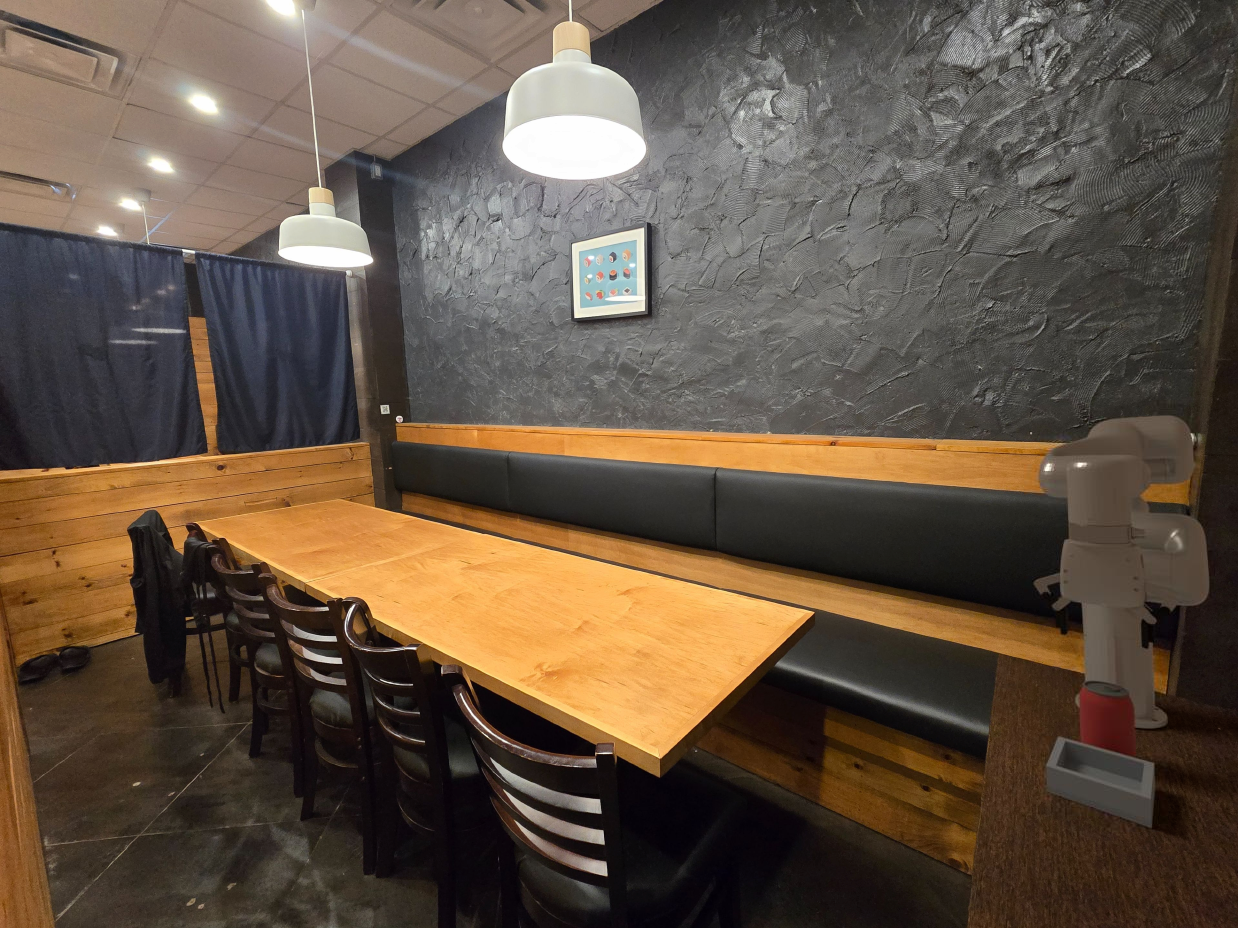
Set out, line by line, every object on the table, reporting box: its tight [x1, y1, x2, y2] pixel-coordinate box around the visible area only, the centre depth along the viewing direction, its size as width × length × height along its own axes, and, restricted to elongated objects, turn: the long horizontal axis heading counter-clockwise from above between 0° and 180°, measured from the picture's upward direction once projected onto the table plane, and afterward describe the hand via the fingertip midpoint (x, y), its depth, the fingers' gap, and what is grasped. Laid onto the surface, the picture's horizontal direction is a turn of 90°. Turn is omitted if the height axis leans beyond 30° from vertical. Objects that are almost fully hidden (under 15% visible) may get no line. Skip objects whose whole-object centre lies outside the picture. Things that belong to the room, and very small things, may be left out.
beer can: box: [1078, 681, 1137, 758], centre depth 85 cm, size 7×7×12 cm
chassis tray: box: [1045, 735, 1156, 829], centre depth 78 cm, size 11×11×4 cm
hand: (1103, 639), depth 85 cm, fingers open, 9 cm apart
